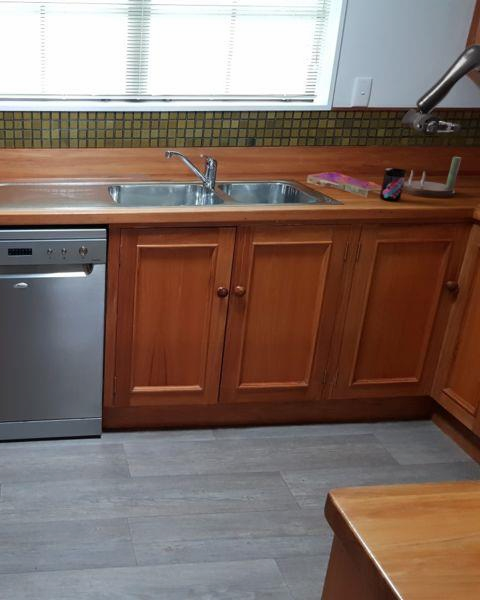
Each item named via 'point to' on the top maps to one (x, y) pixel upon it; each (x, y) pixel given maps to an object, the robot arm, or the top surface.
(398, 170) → the supplement container
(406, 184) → the dish rack
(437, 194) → the turntable base
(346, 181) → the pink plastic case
